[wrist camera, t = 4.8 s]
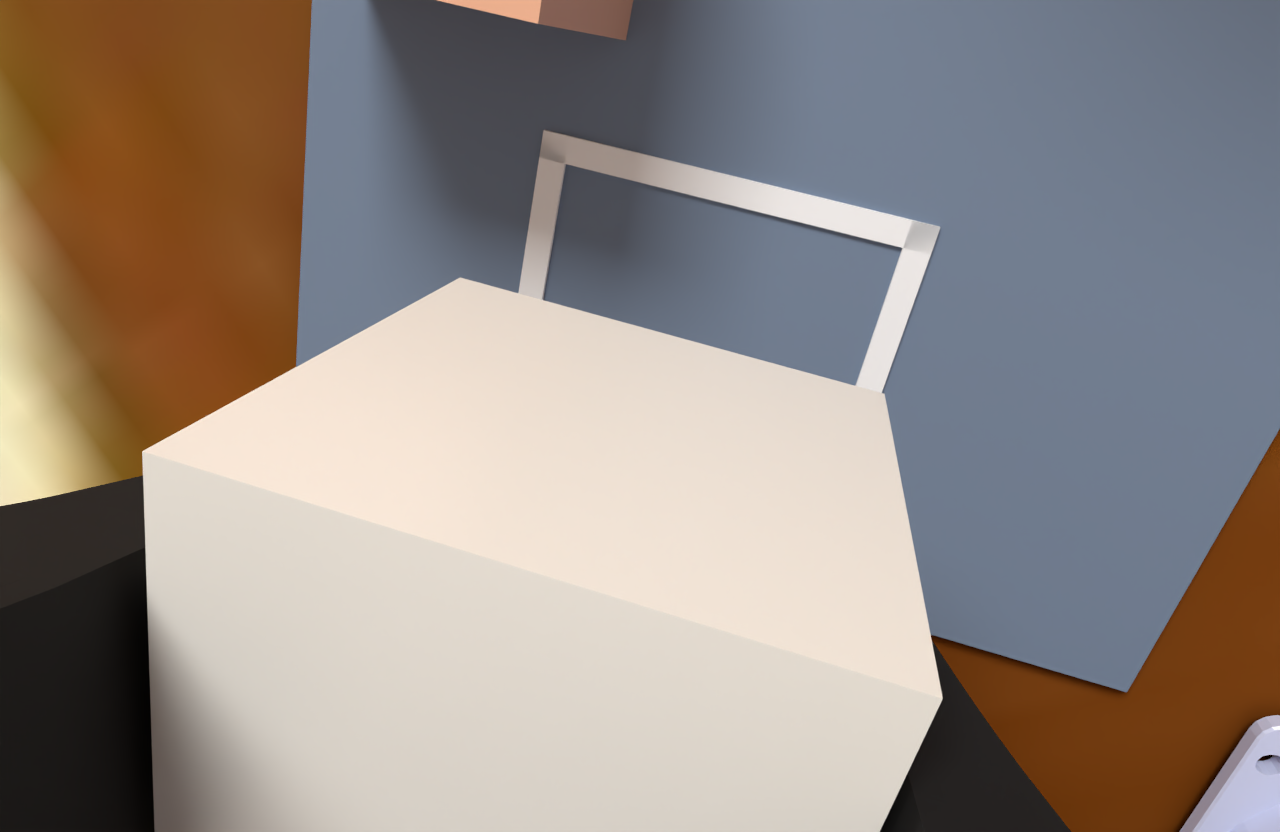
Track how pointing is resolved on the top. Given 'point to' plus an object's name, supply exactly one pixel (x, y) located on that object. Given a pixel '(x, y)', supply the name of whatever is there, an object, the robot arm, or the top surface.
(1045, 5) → the mat
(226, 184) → the top surface
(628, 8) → the terracotta block
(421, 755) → the offwhite block
